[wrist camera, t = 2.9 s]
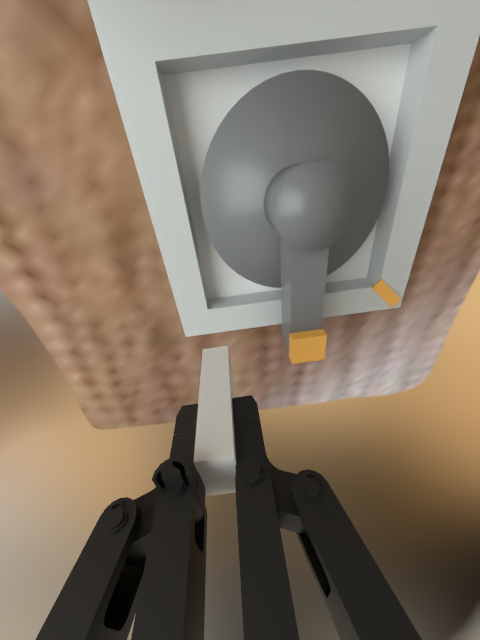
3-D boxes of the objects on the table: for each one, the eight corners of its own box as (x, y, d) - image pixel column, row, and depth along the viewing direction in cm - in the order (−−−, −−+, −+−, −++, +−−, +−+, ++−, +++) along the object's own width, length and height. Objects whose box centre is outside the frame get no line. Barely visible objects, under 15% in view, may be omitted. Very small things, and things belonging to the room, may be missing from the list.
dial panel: (116, 34, 14) (82, -12, 11) (439, -6, 14) (512, -65, 11) (190, 314, 25) (185, 338, 21) (375, 289, 25) (401, 308, 22)
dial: (182, 94, 14) (162, 48, 9) (393, 67, 14) (493, 6, 9) (224, 329, 24) (226, 373, 18) (351, 312, 24) (389, 351, 18)
